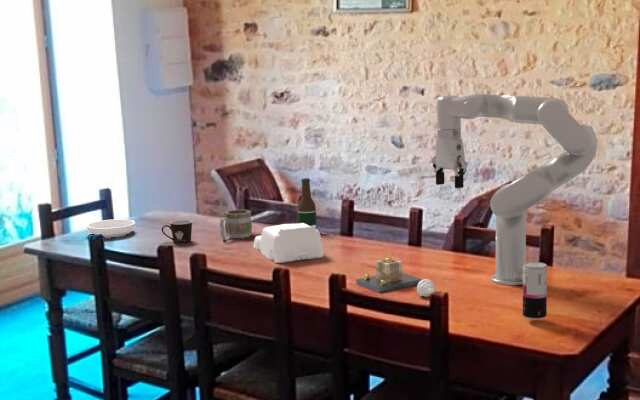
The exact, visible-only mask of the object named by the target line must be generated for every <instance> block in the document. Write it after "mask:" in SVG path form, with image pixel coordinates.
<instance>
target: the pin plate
mask: <svg viewBox="0 0 640 400" xmlns="http://www.w3.org/2000/svg"><path fill="white" fill-rule="evenodd" d="M385 259H386V263H391V262H392V259H393V257H386V258H385ZM355 280H356V285H358V286H361V287H363V288H366V289H369V290H370V291H374V292H376V293H384V292H389V291H390V292H391V291H395V290H400V289H404V288H410V287H415V286H418V283H419V282H420V281H421V280H423V279H422V278H419V277H417V276H415V275H411V274H407V273H405V272H402V280H398V281H393V282H388V283H387V282H386V280H378V279H376V275H373V276H371V275H370V273H365V274H364V277H362V278H356V279H355Z"/></svg>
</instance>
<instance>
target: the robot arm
mask: <svg viewBox="0 0 640 400" xmlns="http://www.w3.org/2000/svg"><path fill="white" fill-rule="evenodd" d="M436 101H437V102H436V111H437V112H436V114H437V115H436V116H437V118H436V119H437V121H436V122H437V123H436V124H437V125H436V127H437V131H436V132H437V133H436V134H437V136H436V144H435V155H434V156H433V157H432V158H431V163H432V168H433V169H434V173H435V185H436V186H438V185H445V172H444V170H450V171H451V170H453V172H454V174H455V175H454V189H461V188H464V176H465V174H466V172H467V169H468V166H469V163H468V162H467V161H466V158H465V157H466V156H465V155H466V154H465V147H464V142H463V138H462V130H461V129H462V123H461V122H462V119H464V120H474V119H477V118H481V117H482V118H492V119H493V118H497V119H503V120H506V121H508V122H510V123H515V124H523V125H524V124H528V125H529V124H530V125H539V126H540V125H541V126H542V127H543V128H544V130H545V131H546V132H547V133H548V134H549V135H550V136H551V137H552V138H553V139H554V140H555V141H556V142H557V143H558V144H559V145H560V146H561V147H562V148H563V149H564V150H563V152H561V153H560V154H559V155H557V156H555V157H554V158H552V159H551V160H549V161H547V162H546V163H543V164H541V165H540V166H539V167H536V168H532V169H531V170H529V171H528V172H527V173H526V174H524V175H523V176H521V177H520V178H518V179H516V180H514V181H512V182H511V183H507V184H504V185H502V186H501V187H500V188H498V189H497V190H496V191H495V192H494V193H493V195H492V196H491V198H490V202H489V204H490V206H489V207H490V209H491V211H492V213H493V214H494V215H495V216H496V217H495V273H494V274H491V276H490V280H491V282H492V283H496V284H498V285H504V286H505V285H506V286H517V285H518V286H519V285H523V266H524V263H527V261H526V260H527V259H526V257H527V255H526V254H527V253H526V249H527V248H526V245H527V243H526V241H527V235H526V234H527V210H529V209H530V208H533V207H535V206H536V205H538V204H540V203H541V202H543V201H544V200H545V199H547V198H548V197H549V196H550V195H551V194H552V193H553V192H554V191H555V190H557V189H558V188H560V187H562V186H563V185H565V184H567V183H568V182H570V181H571V180H573V179H575V178H576V177H578V176H579V175H580V174H582V173H584V171H586V170H587V169H588V167H589V166H590V164H591V163H592V162H593V161H594V158H595V156H596V152H597V148H598V139H597V134H596V132H595V130H594V129H593V128H592V127H591V126H590V125H587V124H580V123H579V122H578V121H577V120H576V119H575V117H574V116H572V114H571V113H570V112H569V110H570V109H569V106H568V104H567V102H566V101H564V100H563V99H561V98H557V97H545V96H544V97H543V96H542V97H541V96H526V95H525V96H524V95H504V94H503V95H502V94H489V93H488V94H487V93H472V94H470V95H465V96H457V95H441V96H439V97H437V100H436Z"/></svg>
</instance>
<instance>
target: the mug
mask: <svg viewBox="0 0 640 400" xmlns="http://www.w3.org/2000/svg"><path fill="white" fill-rule="evenodd" d="M223 215H224V217H222V218H221V219H220V222H219V226H220V235H221V237H220V238H221V239H222V240H223V241H228V239H229V240H230V239H234V238H241V239H245V237H247V238H250V237H251V236H252V233H253V232H252V231H253V230H252V224H253V223H252V211H251V210H248V209H231V210H227V211H225V212H224V213H223ZM224 221H225V222H224ZM224 224H225V225H224ZM250 235H251V236H250ZM226 236H227V237H226ZM249 236H250V237H249Z"/></svg>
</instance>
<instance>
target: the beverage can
mask: <svg viewBox="0 0 640 400" xmlns="http://www.w3.org/2000/svg"><path fill="white" fill-rule="evenodd" d="M547 298H548V267H547V264H546V263H544V262H540V261H528V262H526V263H524V266H523V284H522V316H523V317H524V318H526V319H528V320H542V319H544V318H546V317H547V312H548V311H547V310H548V309H547V307H548V305H547V303H548V301H547V300H548V299H547Z"/></svg>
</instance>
